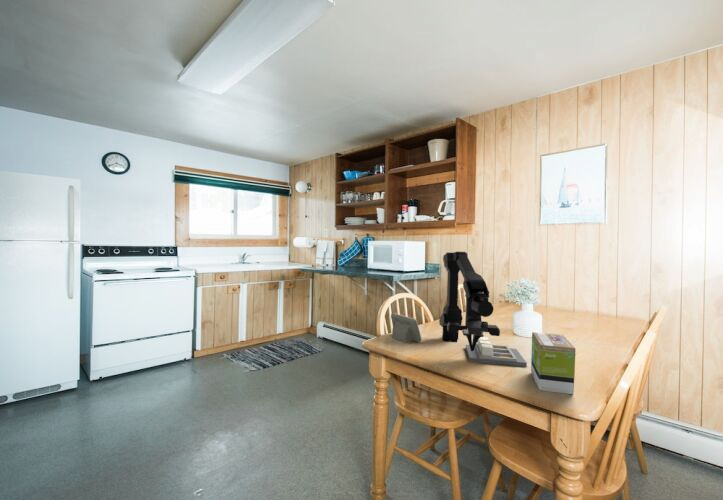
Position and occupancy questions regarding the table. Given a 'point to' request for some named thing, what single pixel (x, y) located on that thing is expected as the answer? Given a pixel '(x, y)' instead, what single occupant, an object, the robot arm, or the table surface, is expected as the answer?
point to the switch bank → (497, 356)
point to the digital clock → (405, 328)
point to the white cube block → (483, 343)
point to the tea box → (553, 363)
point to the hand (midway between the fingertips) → (472, 350)
